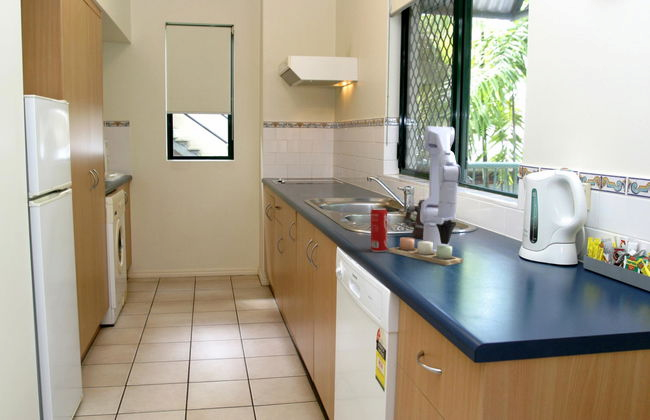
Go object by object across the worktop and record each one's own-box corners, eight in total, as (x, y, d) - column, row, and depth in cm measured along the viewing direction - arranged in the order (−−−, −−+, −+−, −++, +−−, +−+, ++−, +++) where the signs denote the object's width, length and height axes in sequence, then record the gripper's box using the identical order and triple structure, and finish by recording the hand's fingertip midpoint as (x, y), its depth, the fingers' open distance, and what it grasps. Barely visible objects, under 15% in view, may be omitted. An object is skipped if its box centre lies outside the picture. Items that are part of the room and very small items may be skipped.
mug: (436, 235, 254) (438, 199, 252) (445, 240, 242) (448, 202, 240) (399, 234, 252) (401, 198, 250) (407, 239, 240) (409, 201, 238)
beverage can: (386, 253, 211) (388, 210, 209) (367, 251, 212) (369, 208, 211) (388, 250, 217) (390, 208, 215) (369, 248, 218) (372, 206, 216)
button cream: (423, 250, 211) (424, 240, 210) (435, 253, 207) (436, 242, 207) (414, 252, 207) (414, 241, 207) (425, 254, 204) (426, 244, 203)
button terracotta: (406, 246, 217) (406, 236, 216) (417, 249, 213) (417, 239, 213) (396, 248, 213) (397, 238, 213) (407, 250, 210) (408, 240, 209)
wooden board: (405, 249, 220) (405, 246, 220) (463, 262, 201) (463, 258, 201) (388, 251, 214) (388, 248, 214) (446, 265, 195) (446, 261, 195)
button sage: (442, 254, 205) (443, 244, 204) (454, 257, 201) (455, 246, 201) (432, 256, 202) (433, 245, 201) (445, 259, 198) (445, 248, 197)
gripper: (443, 199, 207) (440, 239, 209) (427, 203, 195) (425, 245, 196) (463, 201, 204) (460, 241, 205) (449, 205, 191) (446, 248, 193)
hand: (444, 243), depth 201 cm, fingers closed
